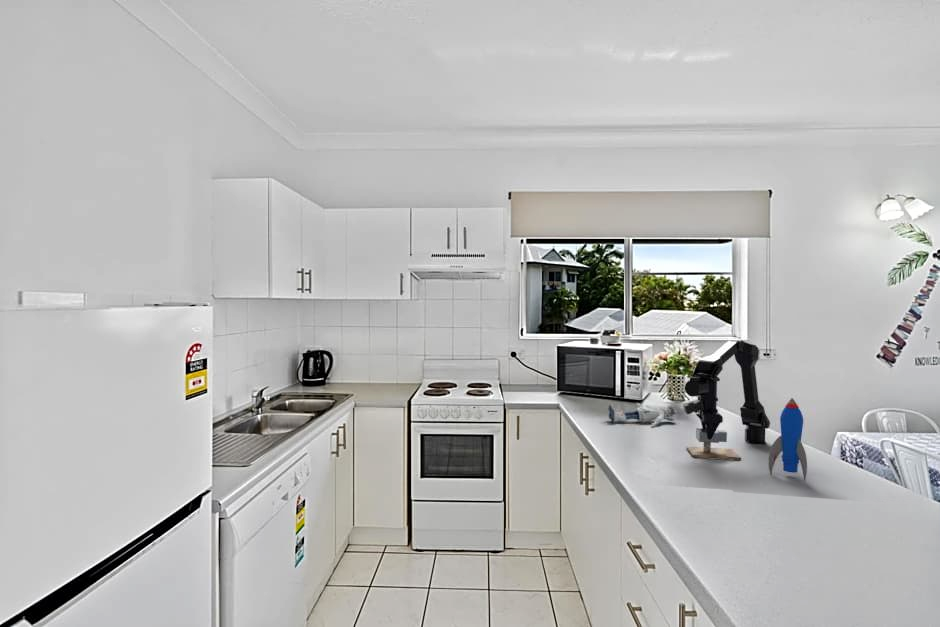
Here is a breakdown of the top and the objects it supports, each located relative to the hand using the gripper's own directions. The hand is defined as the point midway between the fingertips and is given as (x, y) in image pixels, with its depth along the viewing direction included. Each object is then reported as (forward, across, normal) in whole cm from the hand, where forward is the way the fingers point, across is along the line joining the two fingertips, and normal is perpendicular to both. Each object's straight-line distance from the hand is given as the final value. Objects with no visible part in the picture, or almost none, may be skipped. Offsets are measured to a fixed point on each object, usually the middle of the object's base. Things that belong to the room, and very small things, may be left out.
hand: (707, 436), depth 211 cm
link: (+1, 0, +2) cm, 2 cm away
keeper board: (+6, 0, +2) cm, 7 cm away
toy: (+7, -52, -17) cm, 55 cm away
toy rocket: (+6, +22, +19) cm, 30 cm away
